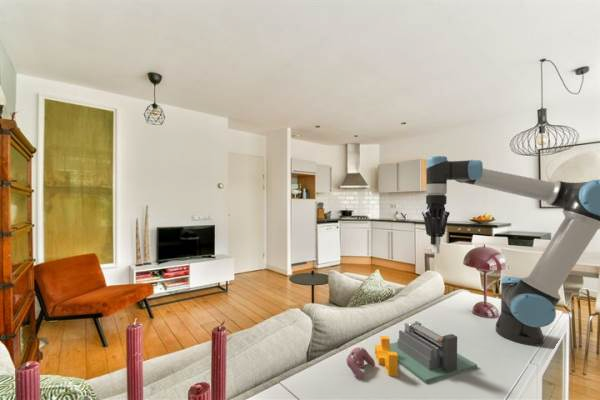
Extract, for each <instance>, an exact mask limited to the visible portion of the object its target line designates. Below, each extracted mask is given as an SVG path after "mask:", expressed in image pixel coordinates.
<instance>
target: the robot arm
mask: <svg viewBox="0 0 600 400" xmlns="http://www.w3.org/2000/svg"><path fill="white" fill-rule="evenodd" d="M425 171H426V178H425V179H426V181H425V182H426V188H425V189H426V190H425V191H426V194H427V195H426V196H425V204H426V206H427V207H426V209H425V211H422V212H421V215H422V217H423V220H424V228H425V232H426V233H425V234H426V235H427V236H428V237H430V245H431V253H434V254H440V251H441V250H440V245H441V238H442V237H444V236H445V233H446V229H447V223H448V218H449V216H450V212H449V211H446V206H445V205H447V195H446V194H448V191H447V190H448V187H447V186H448V184H447V183H448V181H456V182H457V183H461V184H468V185H473V186H477V187H482V188H487V189H490V190H493V191H494V190H495V191H498V192H504V193H507V194H512V195H516V196H520V197H525V198H530V199H534V200H539V201H542V202H545V203H546V205H548V206H552V207H555V208H560V209H563V210H562V213H563V216H564V219H563V220H562V221H561V223H560V225H559V227H558V228H557V230H556V232H555V233H554V234H553V237H552V238H551V240H550V241H549V243H548V244H547V246H546V248H545V249H544V251H543V252H542V254H541V256H540V257H539V259H538V260H537V262H536V264H535V265H534V267H533V269H532V271H531V272H530V274H529V275H528V276H527V277H515V276H503V277H502V278H501V282H500V285H501V293H500V297H501V301H500V314H499V316H498V318H497V321H496V323H495V333H497V335H499V336H501V337H502V338H505V339H507V340H509V341H512V342H515V343H518V344H523V345H524V344H525V345H529V344H539V345H542V344H544V334H543V331H542V328H544V327H547V326H550V325H551V324H552V323H554V321H555V320H556V317H557V311H556V306H557V305H558V303H559V302H560V300H562V299H561V296H560V294H559V290H560V289H561V287H562V286H563V285H564V283H565V281H566V280H567V278H568V276H570V274H571V273H572V270H573V269H574V267H575V266H576V264H577V263H578V261H580V258H581V257H582V255H583V254H584V252H585V250H586V248H588V246H589V245H590V243H591V241H592V240H593V238H594V237H595V235H596V234H597V232H598V231H599V230H600V179H592V180H589V181H583V182H581V181H580V182H568V181H567V182H566V181H561V180H555V181H547V180H542V179H538V178H532V177H528V176H527V177H526V176H522V175H518V174H517V175H516V174H512V173H507V172H503V171H498V170H493V169H489V168H488V169H486V168H484V167H483V162H482V160H481V159H480V160H478V159H470V160H469V159H468V160H455V161H452V160H451V161H450V160H449V159H448V157H447V156H445V155H435V156H430V157H428V159H427V160H426V170H425Z"/></svg>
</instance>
